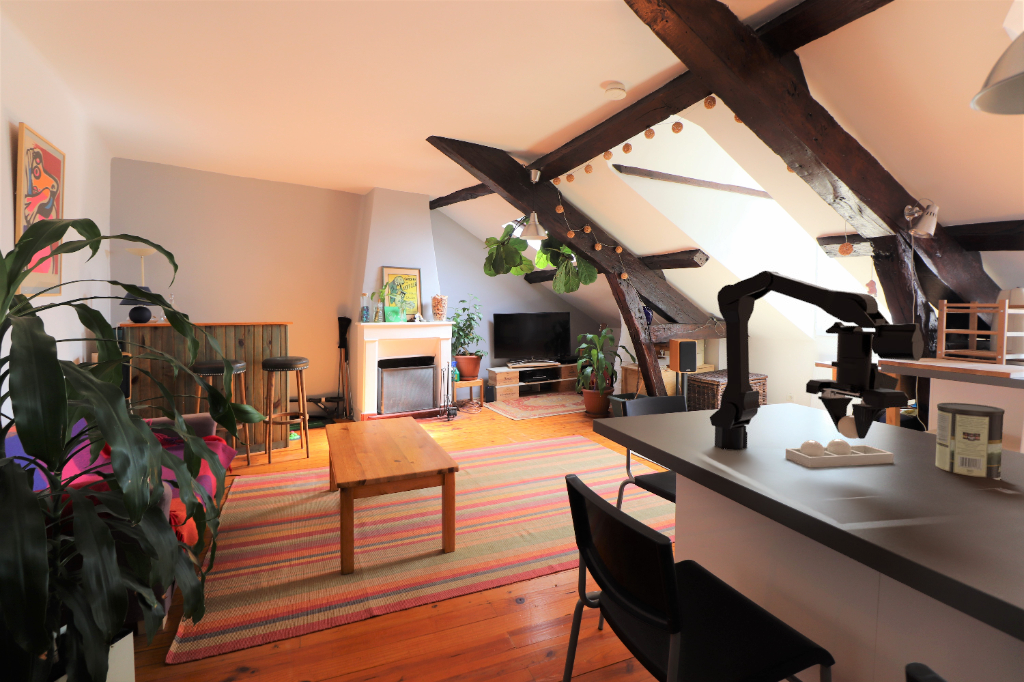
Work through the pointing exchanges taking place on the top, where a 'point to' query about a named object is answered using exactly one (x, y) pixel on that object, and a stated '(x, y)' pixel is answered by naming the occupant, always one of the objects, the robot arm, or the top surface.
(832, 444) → the cream egg
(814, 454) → the cream egg
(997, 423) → the coffee can
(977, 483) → the top surface
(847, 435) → the brown egg
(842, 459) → the carton
